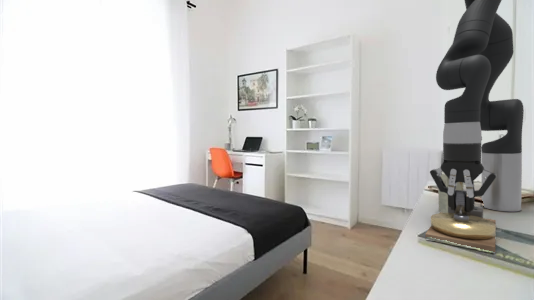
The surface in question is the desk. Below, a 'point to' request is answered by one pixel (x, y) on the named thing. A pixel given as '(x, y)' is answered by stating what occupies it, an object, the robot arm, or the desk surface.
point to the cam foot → (462, 221)
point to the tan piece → (478, 243)
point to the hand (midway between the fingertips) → (461, 210)
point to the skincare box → (443, 196)
